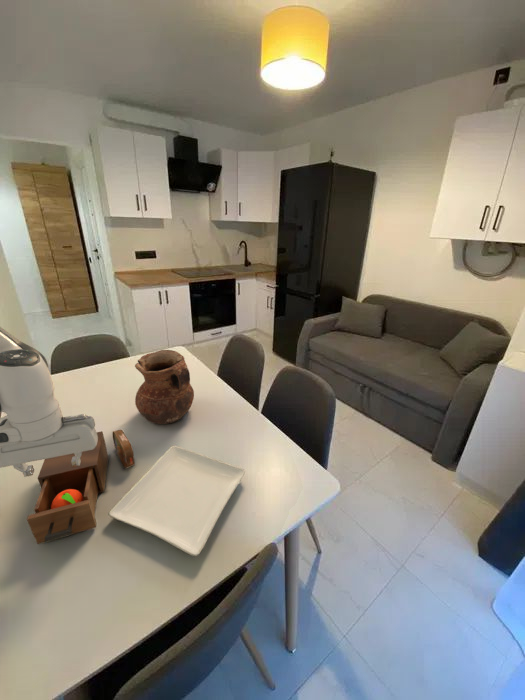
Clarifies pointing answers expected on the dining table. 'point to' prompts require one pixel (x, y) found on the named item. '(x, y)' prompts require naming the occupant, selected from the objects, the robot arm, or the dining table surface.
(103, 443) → the cabinet
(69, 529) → the drawer
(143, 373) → the jug
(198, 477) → the square plate
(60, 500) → the clementine
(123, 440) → the tin
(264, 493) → the dining table surface
